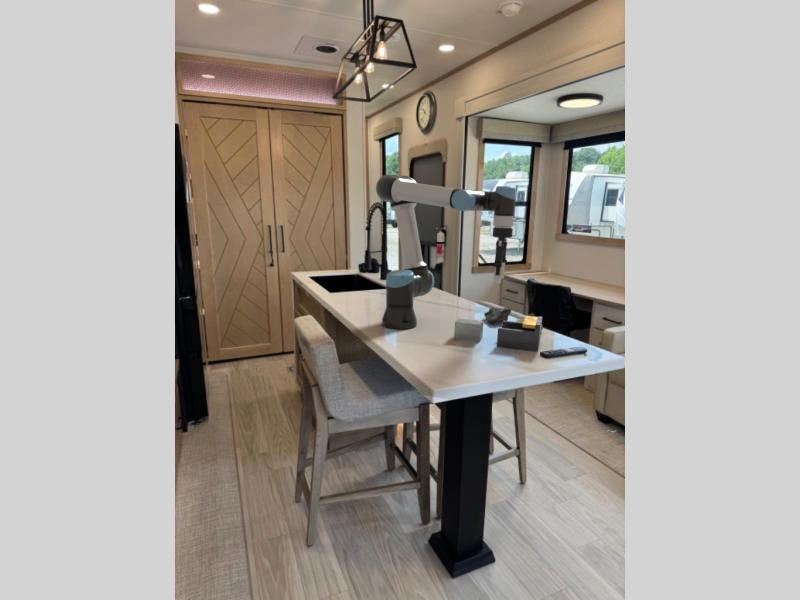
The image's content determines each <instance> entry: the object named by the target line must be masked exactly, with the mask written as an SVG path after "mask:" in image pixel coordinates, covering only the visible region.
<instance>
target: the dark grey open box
mask: <svg viewBox="0 0 800 600" xmlns="http://www.w3.org/2000/svg"><path fill="white" fill-rule="evenodd" d="M523 319H524V322H516V321H513V320H507V321H504V320H503V321H501V327H498V328H497V337H496V347H497V348H501V349H511V350H519V351H525V352H528V351H529V352H535V353H538V352H539V348H540V345H541V344H540V343H541V338H542V337H541V336H542V335H541V333H542V331H541V325H542V326H543V324H542V323H543V316H535V317H532V316H529V315H525V318H523Z"/></svg>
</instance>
